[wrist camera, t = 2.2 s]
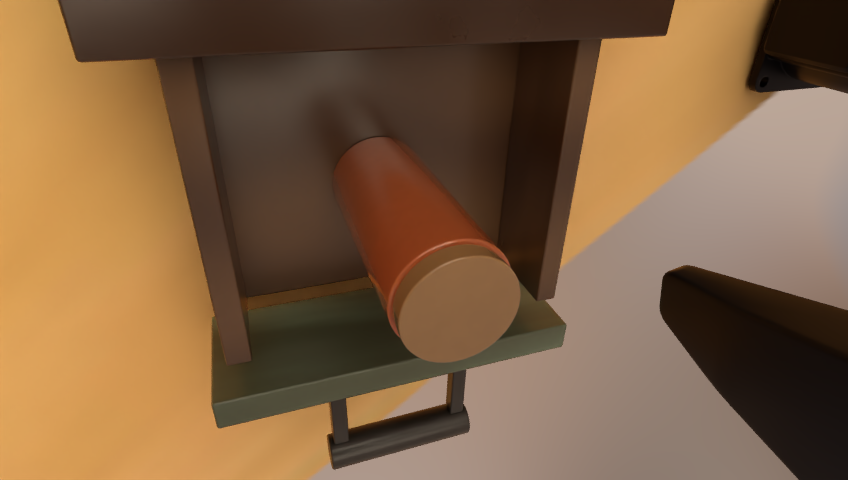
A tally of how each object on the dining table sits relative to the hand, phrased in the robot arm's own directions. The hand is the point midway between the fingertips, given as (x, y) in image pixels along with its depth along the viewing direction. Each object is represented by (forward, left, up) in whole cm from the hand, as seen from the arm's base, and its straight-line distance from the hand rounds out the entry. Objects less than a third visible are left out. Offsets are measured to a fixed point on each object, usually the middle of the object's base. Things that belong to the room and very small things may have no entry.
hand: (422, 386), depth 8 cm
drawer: (-2, +4, -13) cm, 13 cm away
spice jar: (-2, +2, -12) cm, 12 cm away
